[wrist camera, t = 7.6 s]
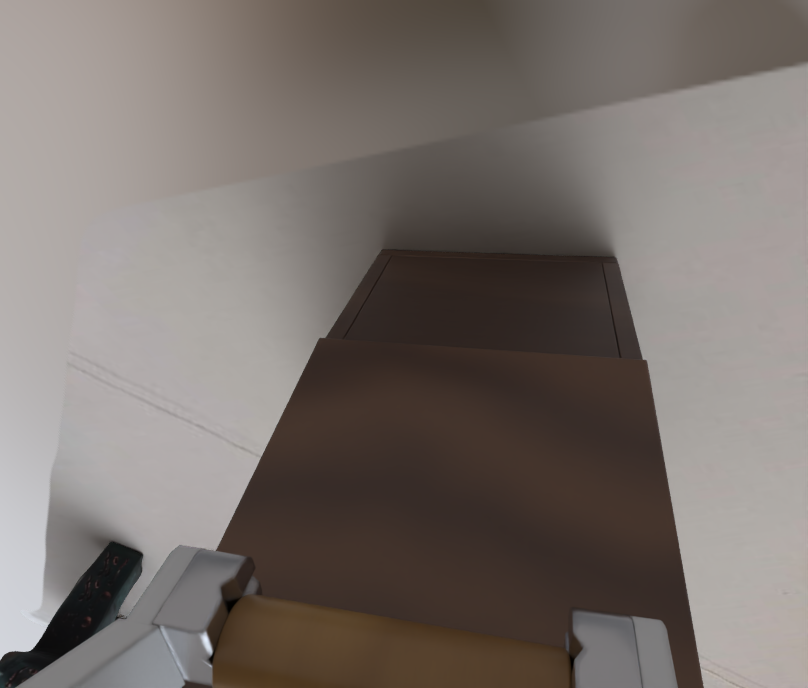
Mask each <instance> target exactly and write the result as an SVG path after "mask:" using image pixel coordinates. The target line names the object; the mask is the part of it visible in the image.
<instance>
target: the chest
mask: <svg viewBox="0 0 808 688" xmlns="http://www.w3.org/2000/svg"><path fill="white" fill-rule="evenodd" d="M326 338H329V339H344V340H358V341H373V342H388V343H403V344H417V345H432V346H447V347H462V348H477V349H491V350H506V351H521V352H536V353H550V354H565V355H580V356H595V357H609V358H624V359H639V360H643V359H642V355H641V351H640V347H639V343H638V339H637V335H636V331H635V327H634V323H633V319H632V315H631V311H630V307H629V303H628V300H627V296H626V292H625V288H624V284H623V280H622V276H621V272H620V268H619V264H618V261H617V258H616V257H590V256H559V255H528V254H497V253H466V252H435V251H404V250H382V251H381V252H380V254H379V255H378V256H377V258H376V259H375V261H374V263H373V264H372V266H371V267H370V269H369V270H368V272H367V274H366V275H365V277H364V278H363V280H362V281H361V283H360V285H359V286H358V288H357V289H356V291H355V292H354V294H353V296H352V297H351V299H350V300H349V302H348V304H347V305H346V307H345V308H344V310H343V311H342V313H341V315H340V316H339V318H338V319H337V321H336V322H335V324H334V326H333V327H332V329H331V330H330V332H329V333H328V335H327V337H326Z"/></svg>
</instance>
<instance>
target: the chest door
mask: <svg viewBox="0 0 808 688" xmlns="http://www.w3.org/2000/svg"><path fill="white" fill-rule="evenodd" d="M216 551H219V552H225V553H231V554H237V555H243V556H249V557H252V559H253V561H254V564H255V567H256V568H255V570H254V572H253V574H252V575H253V576H254V577H255V578H256V579H257V580H258V581H259V582H260V584H261V587H262V595H256V594H248V595H245V596H243V597H242V598H240V599H239V600H238V601H237V603H236V604H235V605H234V606H233V608H232V609H231V611H230V613H229V616H228V618H227V620H226V622H225V624H224V627H223V629H222V632H221V635H220V638H219V641H218V644H217V646H216V649H215V653H214V658H213V664H212V686H209V685H203V684H198V683H192V682H187V681H184V682H185V685H184V686H183V687H182V688H571V674H572V670H571V660H570V656H569V652H568V650H567V649H565V648H564V640H565V633H566V632H568V615H569V610H570V608H571V607H578V608H585V609H592V610H599V611H606V612H614V613H621V614H628V615H630V616H636V617H643V618H650V619H657V620H661V621H662V622H663V623H664V625H665V627H666V629H667V634H668V640H669V645H670V650H671V655H672V660H673V665H674V671H675V676H676V681H677V686H678V688H704V686H703V681H702V675H701V669H700V663H699V658H698V652H697V646H696V640H695V635H694V629H693V623H692V617H691V612H690V606H689V600H688V594H687V589H686V583H685V577H684V571H683V566H682V560H681V554H680V548H679V542H678V537H677V531H676V525H675V519H674V514H673V508H672V502H671V496H670V491H669V485H668V479H667V473H666V468H665V462H664V456H663V450H662V445H661V439H660V433H659V427H658V422H657V416H656V410H655V404H654V399H653V393H652V387H651V381H650V376H649V370H648V364H647V361H646V360H639V359H624V358H609V357H595V356H580V355H565V354H550V353H536V352H521V351H506V350H491V349H477V348H462V347H447V346H432V345H417V344H403V343H388V342H373V341H358V340H344V339H329V338H319V340H318V342H317V344H316V346H315V348H314V350H313V352H312V354H311V356H310V359H309V361H308V363H307V365H306V367H305V369H304V371H303V373H302V375H301V377H300V379H299V381H298V383H297V385H296V387H295V389H294V391H293V393H292V396H291V398H290V400H289V402H288V404H287V406H286V408H285V410H284V412H283V414H282V416H281V418H280V420H279V422H278V424H277V426H276V428H275V431H274V433H273V435H272V437H271V439H270V441H269V443H268V445H267V447H266V449H265V451H264V453H263V455H262V457H261V459H260V461H259V463H258V466H257V468H256V470H255V472H254V474H253V476H252V478H251V480H250V482H249V484H248V486H247V488H246V490H245V492H244V494H243V496H242V498H241V501H240V503H239V505H238V507H237V509H236V511H235V513H234V515H233V517H232V519H231V521H230V523H229V525H228V527H227V529H226V531H225V533H224V536H223V538H222V540H221V542H220V544H219V546H218V548H217V550H216Z"/></svg>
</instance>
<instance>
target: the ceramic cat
mask: <svg viewBox="0 0 808 688" xmlns="http://www.w3.org/2000/svg"><path fill="white" fill-rule="evenodd" d="M142 558H143V555H142V554H140V553H138V552H136V551H134V550H132V549H129V548H127V547H124V546H122V545H119V544H117V543H114V542H110V543H109V545H108V546H107V547H106V548H105V549H104V551H103V552H102V553H101V554H100V556H99V557H98V558H97V559H96V560H95V562H94V563H93V564H92V565H91V566H90V567H89V568H88V570H87V571H86V572H85V573H84V574H83V575H82V576H81V578H80V579H79V580H78V582H77V583H76V585H75V587H74V588H73V590H72V591H71V593H70V594H69V596H68V597H67V598H66V600H65V601H64V602H63V604H62V605H61V606H60V608H59V609H58V611H57V612H56V614H55V615H54V617H53V619H52V620H51V622H50V624H49V625H48V627H47V629H46V631H45V633H44V634H43V636H42V638H41V639H40V640H39V642H38V643H37V644H36V646H35V647H34V648H33V649H32V650H31V651H29V652H18V651H17V652H16V651H15V652H9V653H7V654H5V655H4V656H3V657H2V659H1V660H0V688H16V687H17V686H19V685H20V684H22V683H23V682H25V681H26V680H28V679H29V678H31V677H32V676H34V675H35V674H37V673H38V672H40V671H41V670H43V669H44V668H46V667H47V666H49V665H50V664H52V663H53V662H55V661H56V660H58V659H59V658H60V657H62V656H63V655H65V654H66V653H68V652H69V651H71V650H72V649H74V648H75V647H77V646H78V645H80V644H81V643H83V642H84V641H86V640H87V639H89V638H90V637H92V636H93V635H95V634H96V633H98V632H99V631H101V630H102V629H104V628H105V627H107V626H108V625H110V624H111V623H113V622H114V621H116V620H117V619H119V618H116V616H117V614H118V612H119V609H120V607H121V605H122V603H123V602H124V600H125V598H126V597H127V595H128V593H129V591H130V590H131V588H132V587H133V585H134V584H135V583H136V581H137V580H138V579H139V577H140V575H141V573H142V568H141V562H142Z"/></svg>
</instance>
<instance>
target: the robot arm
mask: <svg viewBox="0 0 808 688" xmlns="http://www.w3.org/2000/svg"><path fill="white" fill-rule="evenodd" d="M255 568H256V567H255V564H254V561H253V559H252V557H249V556H243V555H237V554H231V553H225V552H219V551H213V550H206V549H203V548H196V547H190V546H183V545H179V546H178V547H177V548H175V549H174V550H173V551H172V552H171V553H170V554H169V556H168V557H167V559H166V560H165V562H164V563H163V565H162V566H161V568H160V569H159V571H158V572H157V574H156V575H155V577H154V578H153V580H152V581H151V583H150V584H149V586H148V587H147V589H146V590H145V592H144V593H143V595H142V596H141V598H140V599H139V600H138V602H137V603H136V605H135V606H134V608H133V609H132V611H131V612H130V614H129V615H128V617H127V618H126V619H120V618H119V619H117V620H116V621H114V622H113V623H111V624H110V625H108V626H107V627H105V628H104V629H102V630H101V631H99V632H98V633H96V634H95V635H93V636H92V637H90V638H89V639H87V640H86V641H84V642H83V643H81V644H80V645H78V646H77V647H75V648H74V649H72V650H71V651H69V652H68V653H66V654H65V655H63V656H62V657H60V658H59V659H58V660H56V661H55V662H53V663H52V664H50V665H49V666H47V667H46V668H44V669H43V670H41V671H40V672H38V673H37V674H35V675H34V676H32V677H31V678H29V679H28V680H26V681H25V682H23V683H22V684H20V685H19V686H17V687H16V688H182V687H183V686H184V685H185V682H184V681H187V682H192V683H198V684H203V685H209V686H212V664H213V658H214V653H215V649H216V646H217V644H218V641H219V638H220V635H221V632H222V629H223V627H224V624H225V622H226V620H227V618H228V616H229V613H230V611H231V609H232V608H233V606H234V605H235V604H236V603H237V601H238V600H239V599H240V598H242V597H243V596H245V595H248V594H256V595H262V587H261V584H260V582H259V581H258V580H257V579H256V578H255V577H254V576H253V575H252V574H253V572H254V570H255ZM564 648H565V649H567V650H568V652H569V656H570V660H571V670H572V674H571V688H678V686H677V681H676V676H675V671H674V665H673V660H672V655H671V650H670V645H669V640H668V634H667V629H666V627H665V625H664V623H663V622H662V621H661V620H657V619H650V618H643V617H636V616H630V615H628V614H621V613H614V612H606V611H599V610H592V609H585V608H578V607H571V608H570V610H569V615H568V632H566V633H565V640H564Z"/></svg>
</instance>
